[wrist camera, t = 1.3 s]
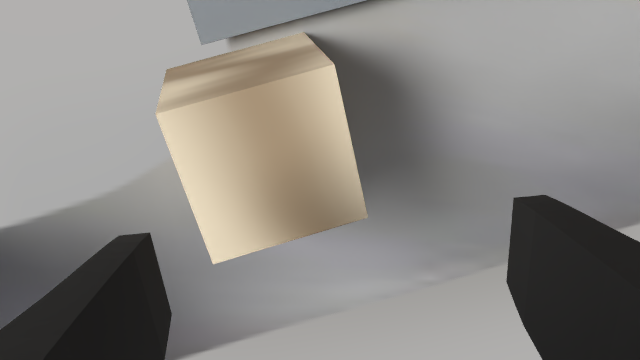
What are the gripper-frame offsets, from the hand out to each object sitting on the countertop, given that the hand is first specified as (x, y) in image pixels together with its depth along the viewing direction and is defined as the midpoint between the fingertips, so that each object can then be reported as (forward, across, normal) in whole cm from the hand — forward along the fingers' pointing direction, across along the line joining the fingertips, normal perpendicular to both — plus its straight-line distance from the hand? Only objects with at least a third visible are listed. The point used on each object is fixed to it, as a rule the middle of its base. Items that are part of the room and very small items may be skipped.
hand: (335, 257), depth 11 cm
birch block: (+10, +2, 0) cm, 10 cm away
